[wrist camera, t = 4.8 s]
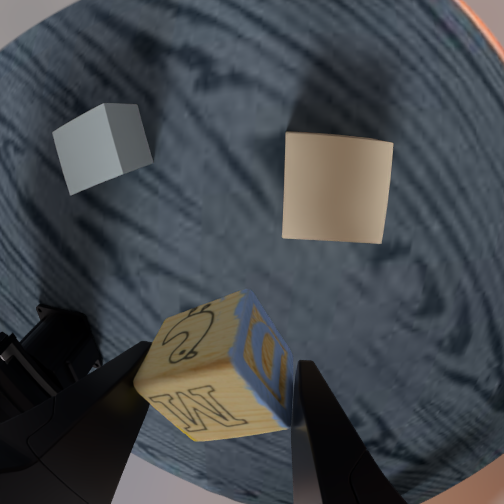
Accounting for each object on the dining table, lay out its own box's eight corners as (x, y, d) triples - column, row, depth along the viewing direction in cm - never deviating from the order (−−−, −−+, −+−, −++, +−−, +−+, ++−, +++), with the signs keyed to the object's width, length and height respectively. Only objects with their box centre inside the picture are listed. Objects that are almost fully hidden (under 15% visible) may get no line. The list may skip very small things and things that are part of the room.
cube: (105, 180, 19) (70, 195, 15) (89, 127, 17) (52, 132, 14) (154, 162, 18) (123, 174, 14) (137, 104, 16) (103, 103, 13)
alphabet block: (295, 355, 9) (293, 433, 7) (215, 378, 10) (195, 447, 8) (250, 281, 8) (231, 358, 6) (165, 315, 9) (126, 383, 7)
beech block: (283, 214, 18) (282, 238, 15) (285, 131, 16) (286, 132, 13) (363, 219, 18) (381, 243, 14) (370, 138, 16) (393, 142, 12)
